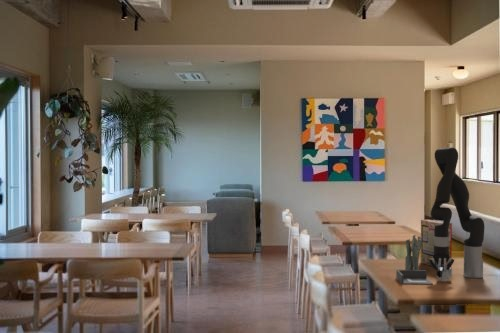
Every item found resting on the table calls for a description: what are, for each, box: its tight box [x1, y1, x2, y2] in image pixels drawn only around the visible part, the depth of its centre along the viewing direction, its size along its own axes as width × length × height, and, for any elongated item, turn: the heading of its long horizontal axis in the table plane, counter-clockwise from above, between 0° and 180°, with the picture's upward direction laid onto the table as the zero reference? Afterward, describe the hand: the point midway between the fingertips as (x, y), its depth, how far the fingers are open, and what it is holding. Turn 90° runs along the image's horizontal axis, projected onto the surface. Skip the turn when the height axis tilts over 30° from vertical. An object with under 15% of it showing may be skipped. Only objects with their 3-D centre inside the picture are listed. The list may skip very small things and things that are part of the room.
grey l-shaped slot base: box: [395, 269, 433, 286], centre depth 288 cm, size 16×13×5 cm
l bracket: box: [436, 267, 453, 282], centre depth 286 cm, size 9×7×5 cm
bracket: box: [404, 234, 422, 270], centre depth 313 cm, size 28×7×20 cm, turn 152°
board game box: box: [420, 219, 453, 267], centre depth 326 cm, size 20×6×27 cm, turn 23°
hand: (441, 277), depth 287 cm, fingers closed on l bracket
